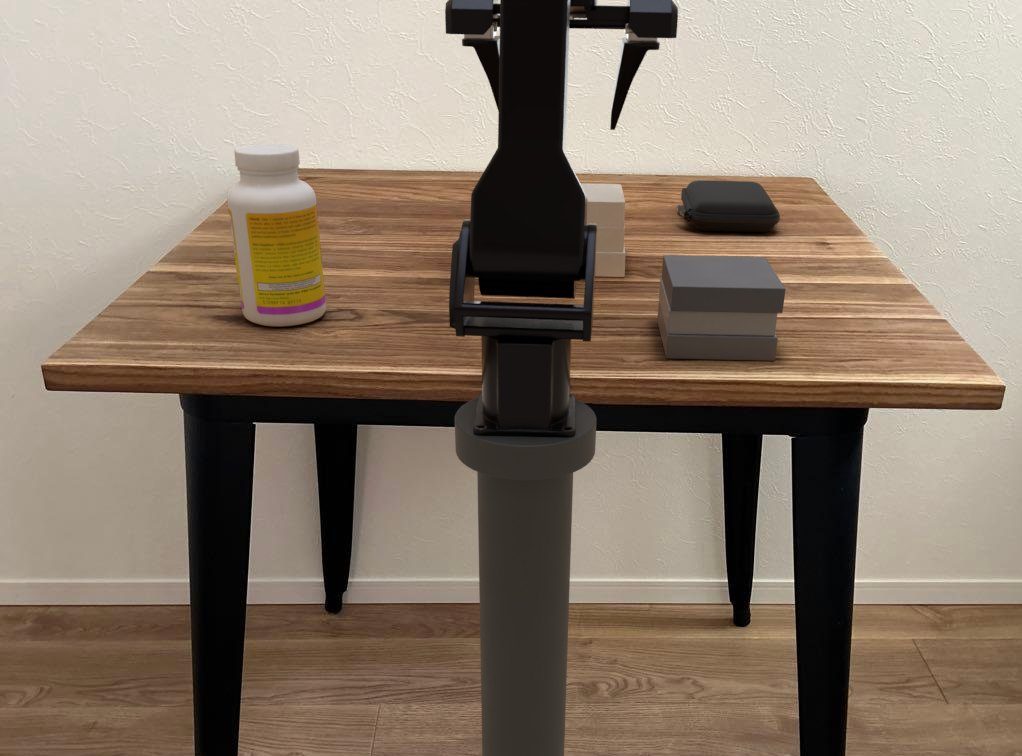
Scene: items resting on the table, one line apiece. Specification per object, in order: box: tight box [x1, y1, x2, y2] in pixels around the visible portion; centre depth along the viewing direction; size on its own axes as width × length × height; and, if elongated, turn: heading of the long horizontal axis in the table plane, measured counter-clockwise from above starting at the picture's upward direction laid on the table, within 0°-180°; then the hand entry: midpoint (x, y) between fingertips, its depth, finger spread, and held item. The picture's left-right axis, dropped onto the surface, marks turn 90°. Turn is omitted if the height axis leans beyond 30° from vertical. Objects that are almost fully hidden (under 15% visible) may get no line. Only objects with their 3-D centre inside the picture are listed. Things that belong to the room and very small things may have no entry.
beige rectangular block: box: [580, 182, 626, 227], centre depth 97 cm, size 8×6×2 cm
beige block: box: [595, 226, 627, 278], centre depth 99 cm, size 9×6×4 cm
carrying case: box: [676, 179, 781, 233], centre depth 116 cm, size 11×3×15 cm
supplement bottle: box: [226, 143, 327, 328], centre depth 82 cm, size 7×7×13 cm
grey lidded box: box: [656, 254, 787, 362], centre depth 80 cm, size 9×8×5 cm
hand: (559, 128), depth 91 cm, fingers open, 9 cm apart
